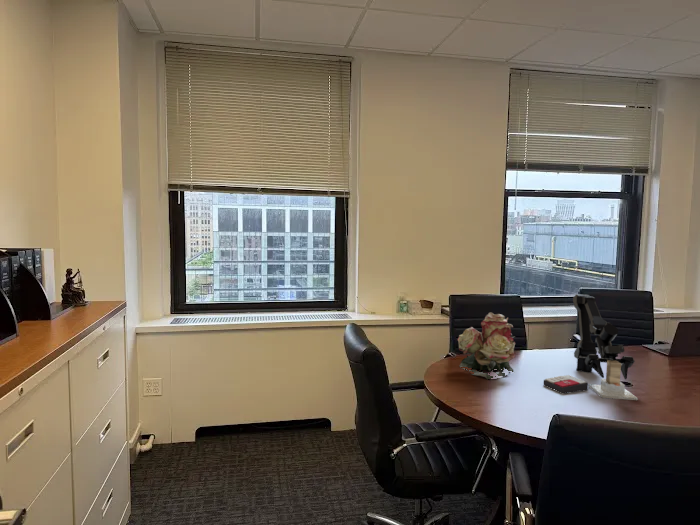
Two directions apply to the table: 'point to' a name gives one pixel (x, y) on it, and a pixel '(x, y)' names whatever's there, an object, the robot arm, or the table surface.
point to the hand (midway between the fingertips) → (614, 378)
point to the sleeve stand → (612, 390)
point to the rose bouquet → (488, 346)
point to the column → (613, 372)
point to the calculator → (566, 384)
